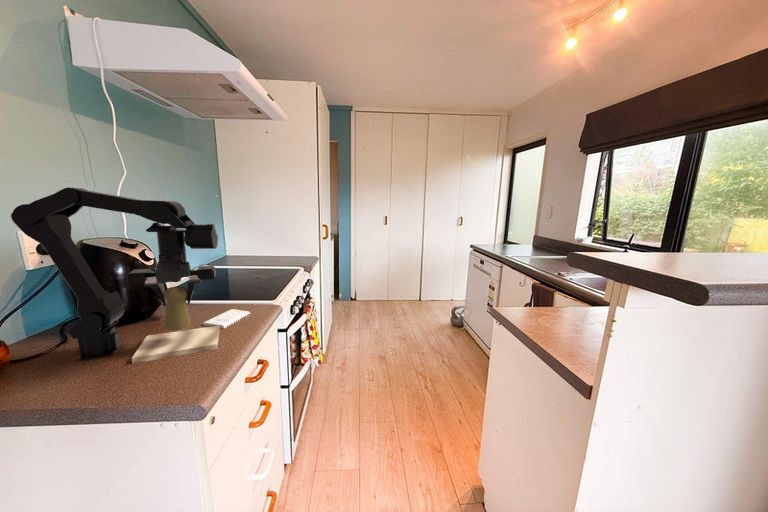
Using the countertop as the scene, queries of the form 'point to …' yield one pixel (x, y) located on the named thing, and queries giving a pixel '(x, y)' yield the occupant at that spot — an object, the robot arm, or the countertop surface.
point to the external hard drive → (226, 318)
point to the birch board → (177, 344)
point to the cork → (176, 309)
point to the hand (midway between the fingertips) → (177, 304)
